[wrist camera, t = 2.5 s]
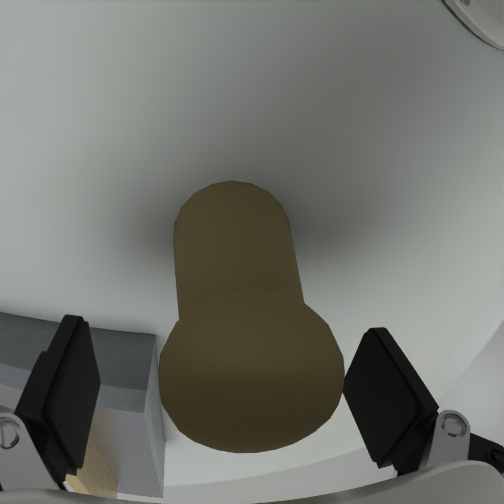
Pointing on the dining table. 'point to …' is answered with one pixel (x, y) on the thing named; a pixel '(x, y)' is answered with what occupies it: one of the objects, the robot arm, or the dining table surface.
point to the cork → (244, 329)
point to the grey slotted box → (100, 405)
